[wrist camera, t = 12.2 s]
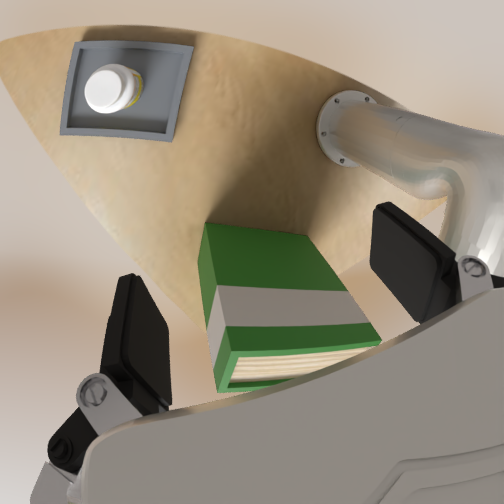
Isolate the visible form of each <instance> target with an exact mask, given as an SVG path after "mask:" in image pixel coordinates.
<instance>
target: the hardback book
mask: <svg viewBox="0 0 504 504" xmlns="http://www.w3.org/2000/svg"><path fill="white" fill-rule="evenodd" d="M198 270H199V278H200V286H201V294H202V301H203V309H204V316H205V322H206V329H207V336H208V342H209V348H210V354H211V360H212V366H213V371H214V378H215V383H216V388H217V393H225V392H244V391H245V392H246V391H255V390H259V389H262V388H266V387H269V386H272V385H276V384H279V383H282V382H285V381H288V380H291V379H294V378H297V377H300V376H303V375H306V374H309V373H312V372H314V371H317V370H320V369H322V368H325V367H328V366H330V365H333V364H336V363H338V362H341V361H343V360H346V359H348V358H350V357H353V356H355V355H358V354H360V353H362V352H365V350H366V349H367V347H371V346H378V345H379V344H380V342H381V341H382V339H381V338H380V336H379V335H378V333H377V332H376V330H375V329H374V328H373V326H372V324H371V323H370V322H369V320H368V319H367V317H366V316H365V314H364V313H363V311H362V310H361V308H360V307H359V306H358V304H357V303H356V302H355V300H354V298H353V297H352V296H351V294H350V293H349V291H348V290H347V289H346V287H345V286H344V284H343V283H342V282H341V281H340V279H339V278H338V276H337V275H336V273H335V272H334V271H333V269H332V268H331V267H330V265H329V264H328V263H327V261H326V260H325V259H324V257H323V256H322V255H321V253H320V252H319V251H318V249H317V248H316V247H315V245H314V244H313V243H312V241H311V240H310V239H309V237H308V236H306V235H298V234H291V233H284V232H277V231H269V230H262V229H254V228H246V227H238V226H230V225H222V224H214V223H206V222H205V226H204V231H203V236H202V241H201V247H200V252H199V257H198Z"/></svg>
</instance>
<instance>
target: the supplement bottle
mask: <svg viewBox="0 0 504 504" xmlns="http://www.w3.org/2000/svg"><path fill="white" fill-rule="evenodd" d="M143 89H144V82H143V79H142V77H141V75H140V74H139V73H138V72H137V71H135V70H133V69H131V68H128V67H125V66H123V65H120V64H108V65H105V66H102V67H100V68H99V69H97V70H96V71H95V72H94V73H93V74H92V75H91V76H90V78H89V80H88V81H87V83H86V86H85V98H86V100H87V103H88V104H89V106H90V107H91V108H92V109H93V110H95V111H97V112H100V113H112V112H116V111H118V110H121V109H124V108H127V107H130V106H132V105H133V104H134V103H136V102H137V101H138V100H139V98H140V97H141V95H142V93H143Z"/></svg>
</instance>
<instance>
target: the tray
mask: <svg viewBox="0 0 504 504" xmlns="http://www.w3.org/2000/svg"><path fill="white" fill-rule="evenodd" d="M193 49H194V47H193V46H186V45H178V44H169V43H159V42H145V41H82V42H75V44H74V48H73V52H72V56H71V60H70V65H69V70H68V75H67V80H66V86H65V92H64V99H63V107H62V115H61V125H60V135H79V136H105V137H121V138H134V139H145V140H155V141H164V142H172V140H173V135H174V130H175V125H176V120H177V115H178V110H179V105H180V101H181V96H182V92H183V88H184V83H185V79H186V75H187V71H188V67H189V64H190V60H191V56H192V53H193ZM108 64H120V65H123V66H125V67H128V68H131V69H133V70H135V71H137V72H138V73H139V74H140V75H141V77H142V79H143V82H144V89H143V93H142V95H141V97H140V98H139V100H138V101H137V102H136V103H134V104H133V105H132V106H130V107H127V108H124V109H121V110H118V111H116V112H112V113H100V112H97V111H95V110H93V109H92V108H91V107H90V106H89V104H88V103H87V100H86V98H85V86H86V83H87V81H88V80H89V78H90V76H91V75H92V74H93V73H94V72H95V71H96V70H97V69H99V68H100V67H102V66H105V65H108Z"/></svg>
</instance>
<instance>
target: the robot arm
mask: <svg viewBox="0 0 504 504" xmlns="http://www.w3.org/2000/svg"><path fill="white" fill-rule="evenodd" d="M334 100H335V102H334ZM316 132H317V139H318V143H319V145H320V147H321V149H322V151H323V152H324V153H325V155H326V156H327V157H328V158H329V159H330V160H332V161H333V162H335V163H337V164H339V165H341V166H345V167H358V166H363V167H364V168H366V169H368V170H370V171H371V172H373V173H375V174H377V175H378V176H380V177H382V178H383V179H385V180H387V181H388V182H390V183H392V184H393V185H395V186H397V187H398V188H400V189H402V190H403V191H405V192H406V193H408V194H410V195H412V196H413V197H416V198H419V199H424V200H433V199H439V198H442V197H445V196H447V204H446V209H445V213H444V215H445V216H444V220H443V223H442V227H441V230H440V234H439V237H438V238H437V237H436V236H435V235H434V234H432V233H431V232H430V231H429V230H427V229H426V228H425V227H424V226H422V225H421V224H420V223H418V222H417V221H416V220H415V219H413V218H412V217H411V216H409V215H408V214H407V213H405V212H404V211H403V210H401V209H400V208H398V207H397V206H396V205H394V204H393V203H391V202H385V203H381V204H378V205H377V206H376V208H375V209H374V211H373V222H372V238H371V250H370V266H371V269H372V270H373V271H374V272H375V273H376V274H377V276H378V277H379V278H380V279H381V280H382V282H383V283H384V284H385V285H386V286H387V287H388V289H389V290H390V291H391V292H392V293H393V295H394V296H395V297H396V298H397V299H398V301H399V302H400V303H401V304H402V306H403V307H404V308H405V309H406V311H407V312H408V313H409V314H410V316H411V317H412V318H413V319H414V320H415V321H416V322H419V323H420V324H421V325H419V326H417V327H415V328H413V329H411V330H409V331H407V332H405V333H403V334H402V335H399V336H397V337H395V338H393V339H391V340H389V341H387V342H384V343H382V344H380V345H378V346H376V347H374V348H372V349H369V350H367V351H365V352H362V353H360V354H358V355H355V356H353V357H350V358H348V359H346V360H343V361H341V362H338V363H336V364H333V365H330V366H328V367H325V368H322V369H320V370H317V371H314V372H312V373H309V374H306V375H303V376H300V377H297V378H294V379H291V380H288V381H285V382H282V383H279V384H276V385H272V386H269V387H266V388H262V389H259V390H255V391H252V392H248V393H244V394H241V395H237V396H234V397H229V398H225V399H221V400H216V401H212V402H208V403H204V404H199V405H195V406H190V407H185V408H180V409H175V410H170V411H169V406H170V405H172V392H171V377H170V355H169V330H168V326H167V323H166V321H165V320H164V318H163V316H162V315H161V313H160V311H159V309H158V308H157V306H156V304H155V302H154V300H153V299H152V297H151V295H150V293H149V292H148V289H147V288H146V286H145V284H144V282H143V280H142V278H141V277H140V276H136V275H135V274H133V273H131V274H128V275H125V276H121V277H119V280H118V283H117V288H116V292H115V296H114V301H113V306H112V311H111V316H109V319H108V323H107V329H106V334H105V339H104V345H103V352H102V359H101V365H100V373H95V374H92V375H89V376H88V377H86V378H85V379H84V380H83V381H82V382H81V383H80V385H79V387H78V389H77V394H76V399H77V403H78V405H79V407H78V408H77V409H76V410H75V412H74V413H73V414H72V415H71V416H70V417H69V418H68V419H67V420H66V421H65V423H64V424H63V425H62V426H61V427H60V428H59V429H58V430H57V431H56V432H55V434H54V435H53V436H52V437H51V439H50V440H49V443H48V457H49V459H50V462H49V463H48V462H45V464H44V466H43V468H42V470H41V473H40V475H39V477H38V480H37V482H36V484H35V487H34V489H33V492H32V494H31V498H30V504H504V136H503V135H499V134H495V133H491V132H486V131H481V130H476V129H472V128H467V127H463V126H459V125H455V124H452V123H448V122H445V121H441V120H438V119H434V118H431V117H427V116H424V115H421V114H417V113H413V112H409V111H405V110H401V109H397V108H393V107H389V106H384V105H379V104H378V103H377V102H376V101H375V100H374V99H373V98H372V97H371V96H369V95H367V94H366V93H363V92H360V91H355V90H345V91H341V92H338V93H336V94H334V95H333V96H331V97H330V98H329V99H328V100H327V101H326V102H325V104H324V105H323V106H322V108H321V110H320V112H319V115H318V118H317V125H316ZM322 132H323V133H322ZM321 133H322V134H321Z"/></svg>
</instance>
